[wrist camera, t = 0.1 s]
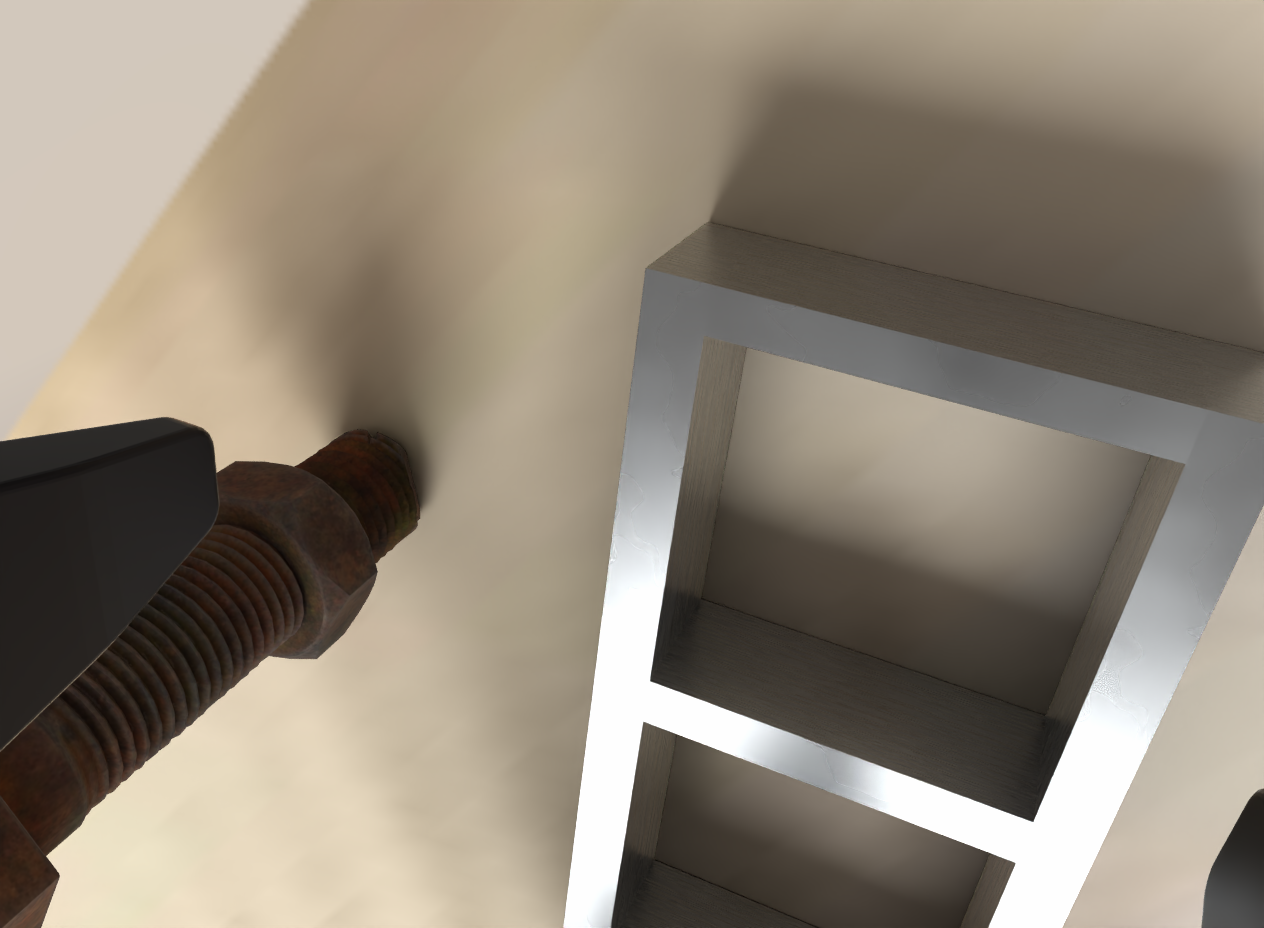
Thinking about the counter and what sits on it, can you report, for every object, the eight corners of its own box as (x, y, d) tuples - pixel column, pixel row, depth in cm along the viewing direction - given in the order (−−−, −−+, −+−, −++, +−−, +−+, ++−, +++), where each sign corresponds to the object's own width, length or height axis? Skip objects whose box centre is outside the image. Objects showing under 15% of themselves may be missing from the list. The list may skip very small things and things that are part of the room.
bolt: (308, 535, 32) (-219, 938, 19) (283, 376, 29) (-333, 718, 17) (483, 579, 30) (20, 1057, 17) (471, 411, 27) (-72, 826, 15)
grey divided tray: (977, 1021, 30) (960, 1141, 27) (610, 865, 33) (559, 958, 30) (1274, 355, 20) (1298, 432, 17) (707, 221, 23) (646, 268, 20)
